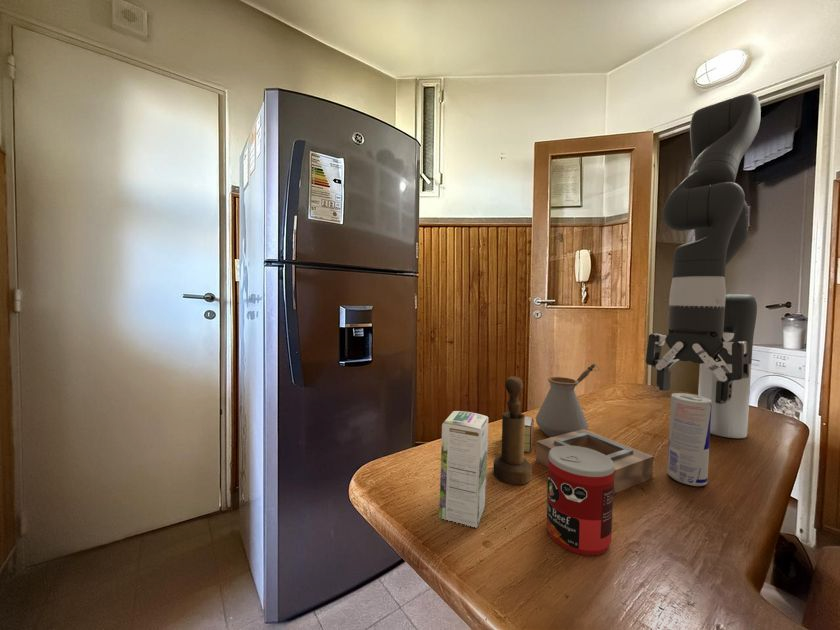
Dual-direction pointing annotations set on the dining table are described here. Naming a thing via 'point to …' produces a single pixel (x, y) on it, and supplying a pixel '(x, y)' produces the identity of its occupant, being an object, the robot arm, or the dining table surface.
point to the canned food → (580, 499)
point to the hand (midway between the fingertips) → (690, 396)
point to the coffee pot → (562, 407)
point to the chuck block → (627, 460)
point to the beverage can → (689, 439)
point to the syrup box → (463, 467)
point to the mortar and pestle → (513, 440)
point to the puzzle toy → (528, 434)
